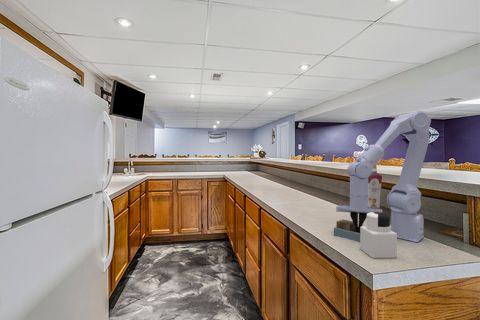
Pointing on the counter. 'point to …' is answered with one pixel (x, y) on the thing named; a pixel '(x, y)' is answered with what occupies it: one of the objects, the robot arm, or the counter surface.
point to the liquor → (374, 189)
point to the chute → (347, 234)
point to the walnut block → (345, 225)
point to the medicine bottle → (378, 236)
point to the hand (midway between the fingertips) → (358, 233)
